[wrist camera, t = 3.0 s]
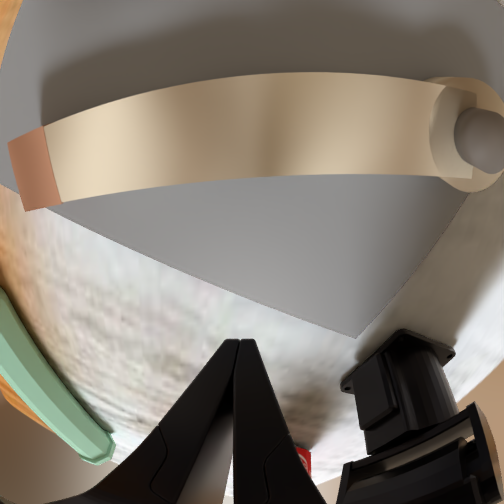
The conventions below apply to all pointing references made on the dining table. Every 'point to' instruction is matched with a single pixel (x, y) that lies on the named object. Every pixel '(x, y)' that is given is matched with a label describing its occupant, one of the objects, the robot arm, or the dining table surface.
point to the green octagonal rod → (47, 390)
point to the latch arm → (267, 135)
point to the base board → (259, 188)
